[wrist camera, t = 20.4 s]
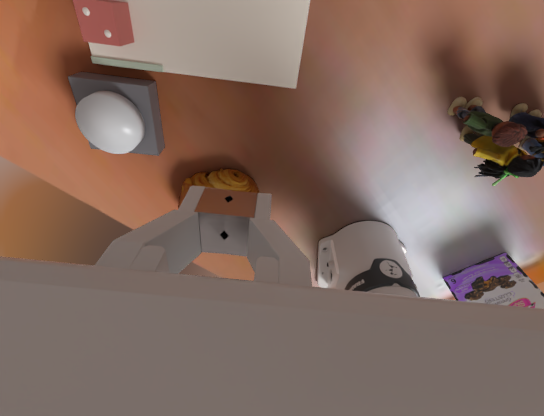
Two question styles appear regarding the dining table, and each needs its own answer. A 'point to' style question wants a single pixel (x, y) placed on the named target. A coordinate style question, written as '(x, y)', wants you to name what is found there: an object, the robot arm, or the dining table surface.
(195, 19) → the board
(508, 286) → the candy box
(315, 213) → the dining table surface
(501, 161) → the doll family
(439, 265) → the dining table surface
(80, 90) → the base
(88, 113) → the dome plunger
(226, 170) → the croissant
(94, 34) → the red die
